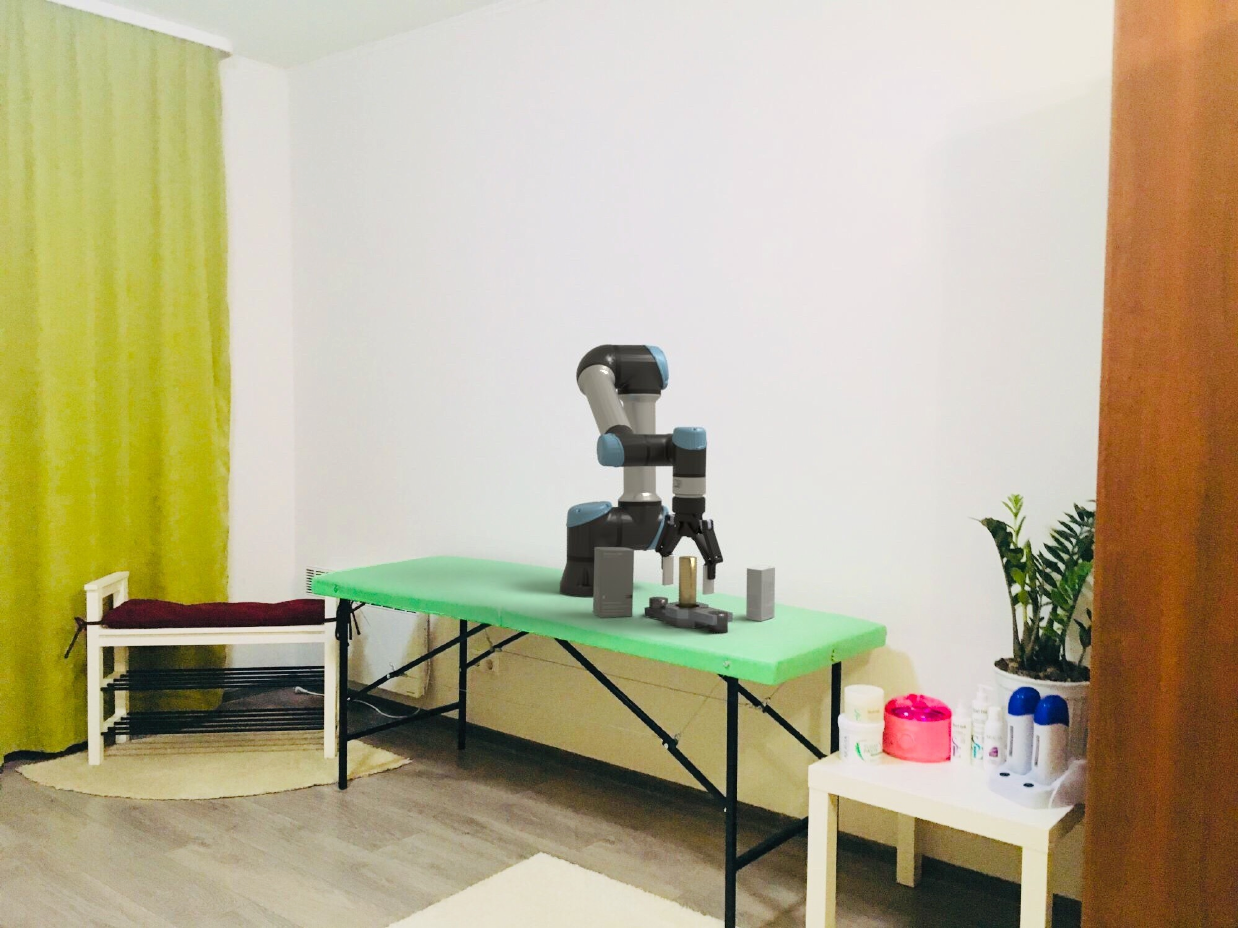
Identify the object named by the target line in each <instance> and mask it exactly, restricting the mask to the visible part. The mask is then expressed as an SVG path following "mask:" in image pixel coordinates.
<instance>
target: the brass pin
mask: <svg viewBox="0 0 1238 928" xmlns="http://www.w3.org/2000/svg"><path fill="white" fill-rule="evenodd" d="M678 564H679V565H678V601H679V607H680V608H696V602H697V591H698V590H697V577H698V575H697V574H698V557H697V556H693V555H692V556H691V555H681V556H679V558H678Z"/></svg>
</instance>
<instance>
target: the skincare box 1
mask: <svg viewBox="0 0 1238 928" xmlns="http://www.w3.org/2000/svg"><path fill="white" fill-rule="evenodd" d="M594 550H595V558H594V594H593V599H592V601H593V602H592V604H593V605H592V612H593V613H594V615H595V614H596V615H597V616H598V617H599V618H601V619H605V618H607V619H608V618H620V617H632V616H633V606H634V605H633V603H634V572H635V571H634V568H635V550H632V549H629V548H623V547H595V548H594Z"/></svg>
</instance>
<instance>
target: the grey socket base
mask: <svg viewBox="0 0 1238 928" xmlns="http://www.w3.org/2000/svg"><path fill="white" fill-rule="evenodd" d="M648 600H649V602H648V606H645V607H644V617H648V618H651V619H655V620H658V621H661V622H665V625H667V626H670V627H674V628H686V629H690V628H691V629H696V628H702V627H703V628H704V627H707V632H708V633H711V634H719V635H720V634H726V633H728V631H729V630H728V629H729V623H733V615H734V614H733V612H731V611H728V610H724V609H719V608H715V607H712V606H710V605H709V604H708V603H703V602H699V601H696V608H680V607H679V600H678V601H673V602H669V598H668V597H665V596H651V597H649V598H648Z"/></svg>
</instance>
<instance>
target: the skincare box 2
mask: <svg viewBox="0 0 1238 928" xmlns="http://www.w3.org/2000/svg"><path fill="white" fill-rule="evenodd" d="M775 576H776V567H775V566H770V565H765V564H759V565H755V566H751V567H747V568H746V619H747V620H749V621H756V622H763V621H766V620H770V619H772V618H775V603H776V602H775V598H776V597H775V594H776V593H775V592H776V591H775V587H776V577H775Z"/></svg>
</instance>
